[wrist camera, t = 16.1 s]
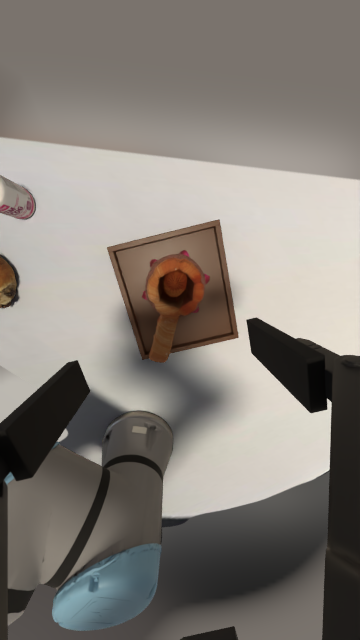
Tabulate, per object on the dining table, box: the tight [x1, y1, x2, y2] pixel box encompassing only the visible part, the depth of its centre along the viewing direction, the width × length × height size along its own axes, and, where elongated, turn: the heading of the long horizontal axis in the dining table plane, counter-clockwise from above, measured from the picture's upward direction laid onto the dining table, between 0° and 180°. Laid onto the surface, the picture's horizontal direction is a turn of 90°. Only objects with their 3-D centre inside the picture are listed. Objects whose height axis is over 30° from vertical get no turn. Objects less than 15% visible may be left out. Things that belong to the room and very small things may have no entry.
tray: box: [107, 220, 238, 360], centre depth 35 cm, size 21×19×2 cm
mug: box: [142, 250, 210, 363], centre depth 28 cm, size 15×8×15 cm, turn 164°
